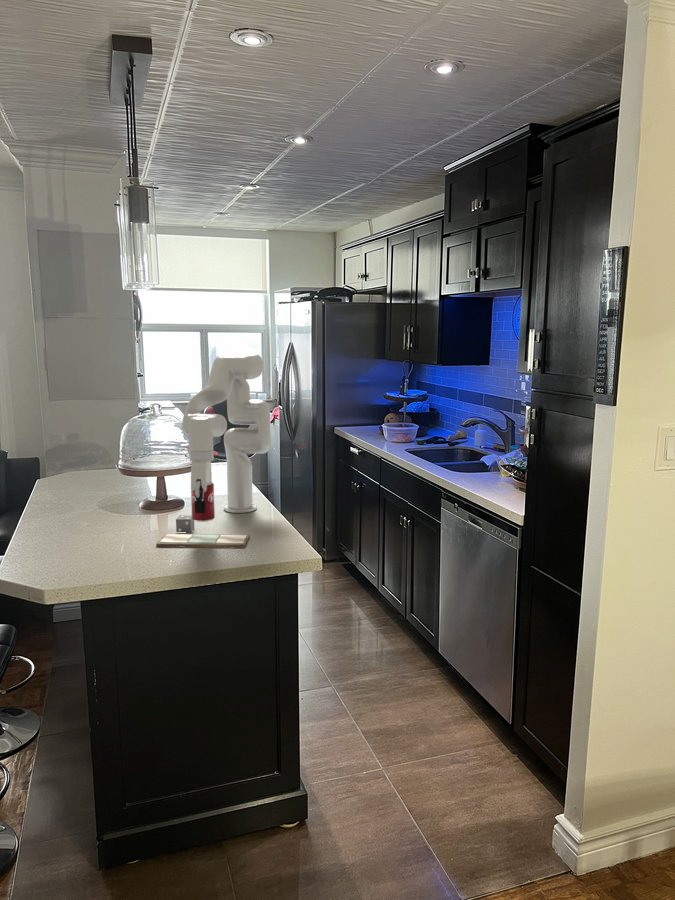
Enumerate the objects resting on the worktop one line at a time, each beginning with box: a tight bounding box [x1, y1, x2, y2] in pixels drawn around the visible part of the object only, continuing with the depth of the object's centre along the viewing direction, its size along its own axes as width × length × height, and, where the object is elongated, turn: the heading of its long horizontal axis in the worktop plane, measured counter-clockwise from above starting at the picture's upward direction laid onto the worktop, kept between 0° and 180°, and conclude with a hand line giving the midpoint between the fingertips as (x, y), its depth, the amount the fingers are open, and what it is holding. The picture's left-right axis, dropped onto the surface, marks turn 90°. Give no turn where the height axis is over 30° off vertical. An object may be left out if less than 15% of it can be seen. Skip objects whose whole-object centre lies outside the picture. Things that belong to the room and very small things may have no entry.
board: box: [155, 533, 251, 549], centre depth 217 cm, size 11×28×1 cm, turn 89°
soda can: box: [190, 481, 216, 523], centre depth 215 cm, size 7×7×12 cm
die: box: [175, 514, 195, 534], centre depth 229 cm, size 5×5×5 cm
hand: (203, 509), depth 215 cm, fingers closed on soda can, 7 cm apart
